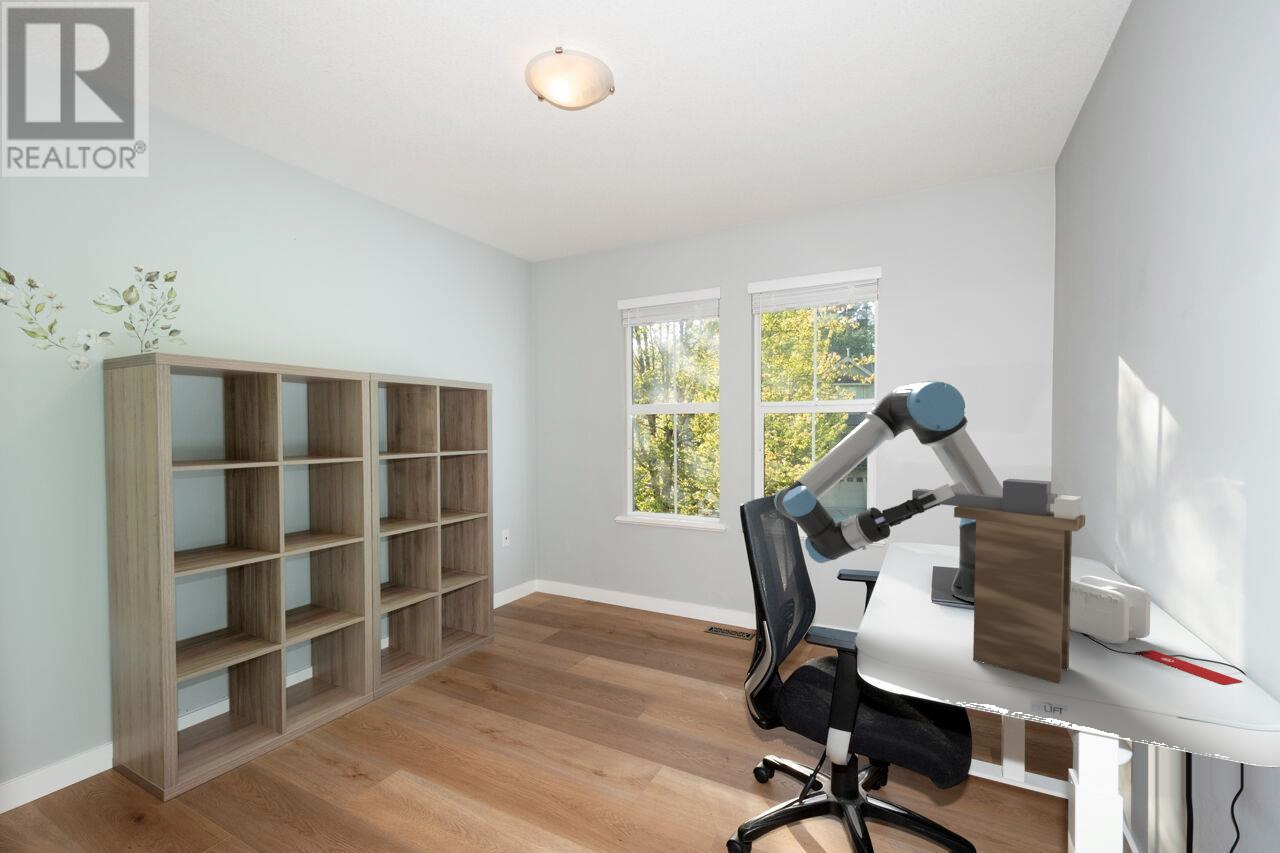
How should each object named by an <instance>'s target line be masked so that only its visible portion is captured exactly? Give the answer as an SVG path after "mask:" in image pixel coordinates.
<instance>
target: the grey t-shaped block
mask: <svg viewBox="0 0 1280 853" xmlns="http://www.w3.org/2000/svg"><path fill="white" fill-rule="evenodd" d="M1002 488H1003V496H998V495H986V494H974V493H962V492H953V493H954V495H955V496H953V497H951V498H949V499H946V500H944V501H942V502H939V503H937V504H941V505H940V506H942V505H943V506H954V507H957V506H961V507H971V508H982V509H992V510H1002V512H1012V513H1022V514H1032V515H1042V516H1046V515H1048V514H1049V513H1050V512H1051V510H1052V508H1051V507H1052V505H1054V499H1055V498H1057V497H1059V496H1058V493H1052V481H1049V480H1048V481H1047V480H1033V479H1021V478H1020V479H1018V478H1007V479H1005V480H1002ZM932 490H933V489H925V488H924V489H923V488H914V489H913V490H911V491H912V494H911V496H912V497H911V498H912V499H913V498H917V499H918V500H919V498H918V497H919V496H921V495H923V494H925V493H928V492H930V491H932ZM912 499H911V500H912Z"/></svg>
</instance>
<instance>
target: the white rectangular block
mask: <svg viewBox="0 0 1280 853" xmlns="http://www.w3.org/2000/svg"><path fill="white" fill-rule="evenodd" d="M1082 499H1083V498H1082V496H1079V495H1067V494H1061V495H1059V496H1058V497H1057V498H1055V499H1054V504H1053V505H1054V506H1053V507H1054V508H1053V512H1054V517H1056V518H1065V519H1076V518H1077V517H1079V516H1080V515H1081V514H1082V502H1083V501H1082Z"/></svg>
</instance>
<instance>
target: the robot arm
mask: <svg viewBox="0 0 1280 853" xmlns="http://www.w3.org/2000/svg"><path fill="white" fill-rule="evenodd" d="M965 409H966V402H965V399H964V397H963V394H962V393H961V392H960V391H959V390H958V388H956V387H955V386H953V385H952V384H950V383H946V382H944V381H936V380H928V381H923V382H918V383H911V384H904V385H901V386H898V387H896V388H894V389H892V391H890V392H889V393H887V394H886V395H885V396H883V398H882V399H881V400H879V401H878V403H875V405H874V406H873V407H871V409H869V410H868V411H867V412H866V413H865V414H864V415H865V416H864V420H863V421H862V422H861V423H860V424H859V425H857V426H856V427H855V428H854V429H853V430H851V432H849V433H848V434H847V435H846V436H845V437H844V438H843V439H842V440H840V441H839V442H838V443H837V444H836V445H835V446H834V447H833V448H832V449H830V450H829V451H828V452H827V453H826V454H825V455H824V456H823V457H821V458H820V459H819V460H817V462H816V463H815V464H814V465H813V466H811V467H810V468H809V469H808V470H807V471H806V472H805V473H804V474H802V475H801V476H800V477H799V478H798V479H797V480H795V482H793V483H792V484H791V485H790V486H789V487H785V488H781V489H780V490H778V491H777V492H776V494H775V496H774V499H773V504H774V508H775V509H776V511H778V513H779V514H780V515H781V516H783V517H785V518H788V519H789V520H791V521H793V522H794V523H796V524H797V525H798V526H799V528H800V529H801V530H802V531H803V533H805V535H806V536H807V537H806V538H805V542H804V543H805V544H804V545H805V546H804V547H805V550H806V551H807V553H808V555H809V557H810V558H811V559H812V560H813V561H814V562H816V563H818V564H824V563H828V562H830V561H831V562H832V561H835V560H838V559H839V558H841V557H843V556H845V555H848V554H850V553H852V552H855V551H857V550H862V551H866V550H867V546H870V545H872V544H874V543H877V542H881V541H883V540H885V539H888V538H889V537H890V535H891V528H892V527H894V526H898V525H900V524H902V523H903V522H906V521H907V520H910V519H912V518H913V517H914V516H916V515H918V514H922V513H923V514H924V513H925V512H926V511H928V510H931V509H933V508H935V507H939V506H942V505H941V504H937V503H939V502H942V501H944V500H946V499H949V498H951V497H953V496H955V495H954V493H953V492H962V493H974V494H986V495H998V496H1003V485H1002V484H1001V483H1000V481H999V480H998V478H997V476H996V475H995V474H994V472H993V470H992V469H991V468H990V466H989V465H988V463H987V461H986V459H985V458H984V456H983V455H982V454H981V452H980V450H979V448H978V447H977V446H976V444H975V443H974V441H973V440H972V438H971V437H970V435H969V434H968V432H967V430H966V428H967V425H968V419H967V416H965V413H966V412H965ZM908 430H912V432H913V433H914V435H915V436H916V438H917V439H918V441H919V443H920V444H921V445H923V446H927V447H931V449H932V451H933V452H934V453H935V455H936V456H937V458H938V459H939V461H940V463H941V465H942V467H943V468H944V469H945V471H946V472H947V474H948V475H949V477H950V479H951V480H952V481H953V483H954V484H952V485H950V484H949V483H946V484H944V485H940V486H939V487H937V488H934V489H931V490H932V491H930V492H928V493H925V494H923V495H921V496H919V497H918V498H919V500H918V499H917V498H913V499H908V500H906V501H905V502H902V503H900V504H898V505H894V506H891V507H889V508H886V509H883V510H882V511H881V510H879V508H876V507H874V506H873V507H870V508H867V509H865V510H863V511H861V512H859V513H855V514H853V515H851V516H849V517H847V518H845V519H843V520H841V521H839V522H838V521H837V522H836V521H835V520H834V518H833V517H832V515H830V514H829V512H828V511H827V510H826V509H825V507H824V506H823V505H822V503H821V502H820V501H819V500H820V499H821V498H822V497H824V496H825V494H827V493H828V492H829V491H830V490H831V489H832V488H834V487H835V486H836V485H837V484H838V483H839V482H840V481H842V480H843V478H844V479H845V477H846V476H847V475H848V474H850V472H851V471H853V470H854V469H855V468H856V467H857V466H858V465H859V464H861V463H862V462H863V461H864V460H865V459H866V458H867V457H869V456H870V455H871V454H872V453H873V452H874V451H875V450H876V449H878V448H879V447H880V446H881V445H882V444H883V443H885V441H893V440H894V439H895V438H896V437H897V436H899V434H901V433H904V432H905V431H908ZM959 521H960V522H959V526H958V527H959V553H958V555H959V559H958V560H959V564H958V565H959V566H958V569H957V571H956V573H955V576H954V580H953V581H952V584H951V590H952V591H953V592H954V593H956V594H959V595H962V596H966V597H971V598H974V596H975V550H976V520H974V519H966V518H960V520H959Z"/></svg>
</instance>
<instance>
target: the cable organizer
mask: <svg viewBox="0 0 1280 853" xmlns="http://www.w3.org/2000/svg"><path fill="white" fill-rule="evenodd" d="M1151 600H1152V598H1151V595H1150V593H1149V592H1148V591H1147V590H1145V589H1144V588H1142V587H1139V586H1135V585H1132V584H1127V583H1124V582H1119V581H1116V580H1111V579H1106V578H1103V577H1100V576H1095V575H1083V576H1081V577H1080V578H1079V580H1074V579H1071V592H1070V631H1072V632H1075V633H1078V634H1081V633H1082V634H1085V635H1088V636H1091V637H1094V639H1095V640H1098V641H1101V642H1104V643H1107V644H1123V643H1126V642H1128V641H1129V639H1131V640H1135V639H1142V638H1143V639H1144V638H1147V637H1149V636H1150V634H1151V603H1152V602H1151Z"/></svg>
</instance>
